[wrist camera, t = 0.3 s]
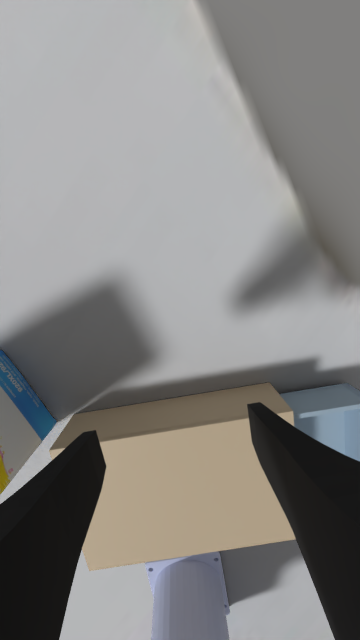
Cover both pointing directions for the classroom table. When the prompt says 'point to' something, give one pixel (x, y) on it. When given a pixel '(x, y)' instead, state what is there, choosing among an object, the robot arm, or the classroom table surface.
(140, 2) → the classroom table surface
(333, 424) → the tray
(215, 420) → the sleeve
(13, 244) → the classroom table surface
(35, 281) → the classroom table surface
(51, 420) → the ink box
